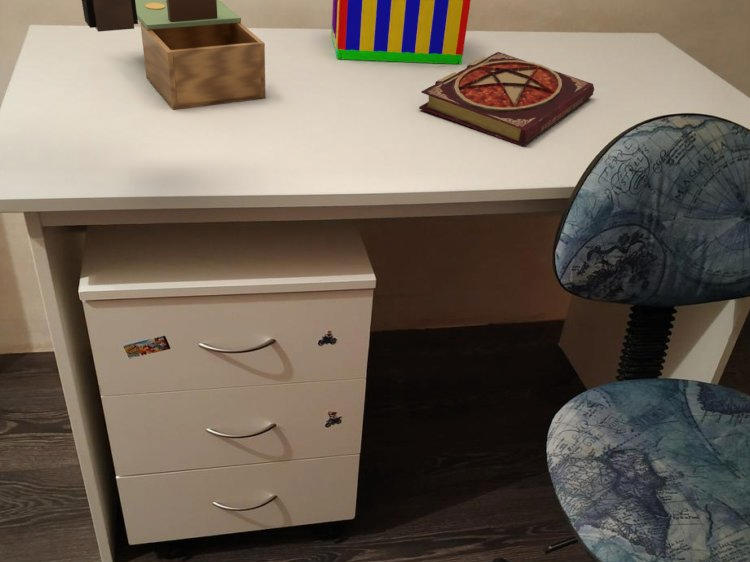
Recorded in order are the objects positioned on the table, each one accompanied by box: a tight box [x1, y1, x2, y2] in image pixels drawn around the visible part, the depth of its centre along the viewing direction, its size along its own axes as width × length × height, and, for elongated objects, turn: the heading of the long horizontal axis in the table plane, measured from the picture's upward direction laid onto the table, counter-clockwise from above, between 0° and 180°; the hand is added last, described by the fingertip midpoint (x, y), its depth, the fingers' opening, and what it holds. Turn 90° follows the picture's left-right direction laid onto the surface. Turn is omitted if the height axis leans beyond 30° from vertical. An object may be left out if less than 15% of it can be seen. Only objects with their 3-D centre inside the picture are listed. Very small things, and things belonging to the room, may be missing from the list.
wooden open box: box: [139, 22, 266, 110], centre depth 133 cm, size 16×14×9 cm
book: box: [418, 51, 595, 147], centre depth 141 cm, size 28×21×5 cm
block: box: [92, 0, 135, 33], centre depth 100 cm, size 4×4×5 cm
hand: (111, 22), depth 102 cm, fingers closed on block, 4 cm apart
